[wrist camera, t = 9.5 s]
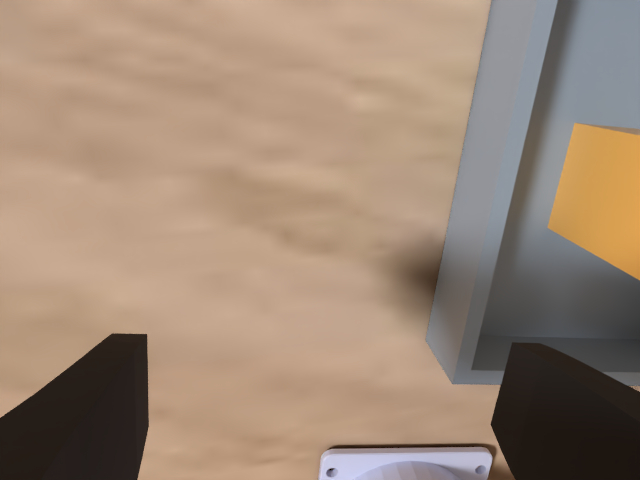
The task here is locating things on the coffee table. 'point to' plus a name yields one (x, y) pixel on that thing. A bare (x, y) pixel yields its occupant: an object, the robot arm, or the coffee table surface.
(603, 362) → the tray
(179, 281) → the coffee table surface
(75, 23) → the coffee table surface
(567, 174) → the orange fuse
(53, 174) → the coffee table surface
